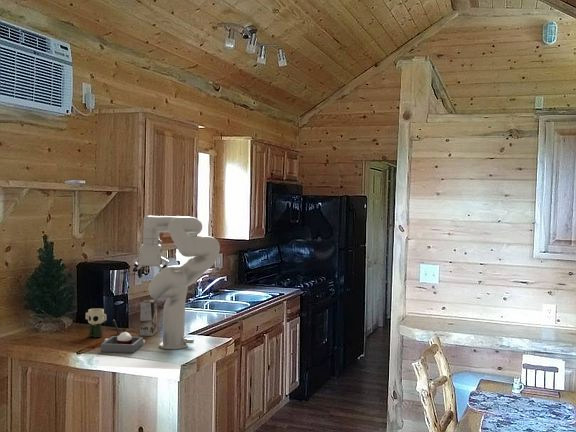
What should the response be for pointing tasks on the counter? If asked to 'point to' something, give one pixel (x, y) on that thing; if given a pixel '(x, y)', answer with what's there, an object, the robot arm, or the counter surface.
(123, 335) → the cocoa
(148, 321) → the coffee box
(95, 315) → the big headed toy figurine
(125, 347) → the tray
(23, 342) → the counter surface
